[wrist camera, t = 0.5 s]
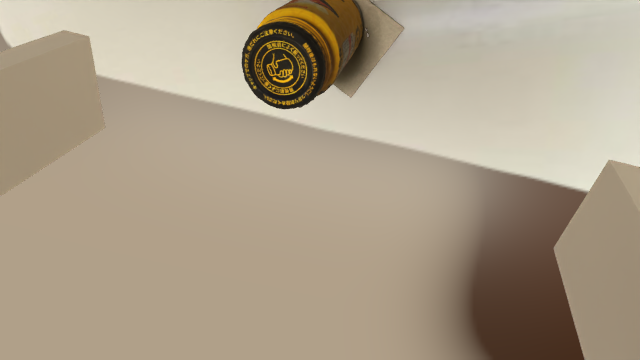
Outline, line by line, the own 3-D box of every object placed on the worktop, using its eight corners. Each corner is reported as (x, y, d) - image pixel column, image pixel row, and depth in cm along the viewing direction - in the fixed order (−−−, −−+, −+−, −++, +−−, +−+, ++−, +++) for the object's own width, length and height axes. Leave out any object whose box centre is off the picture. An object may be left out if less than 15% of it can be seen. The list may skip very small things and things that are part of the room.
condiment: (317, -41, 33) (259, -18, 23) (404, 27, 34) (384, 78, 24) (272, 37, 37) (207, 85, 27) (351, 96, 38) (316, 163, 28)
